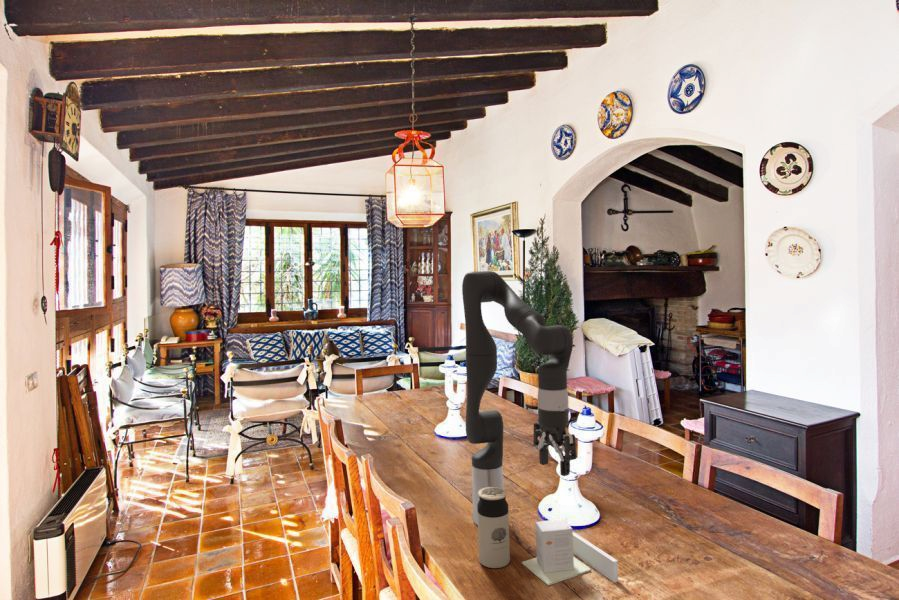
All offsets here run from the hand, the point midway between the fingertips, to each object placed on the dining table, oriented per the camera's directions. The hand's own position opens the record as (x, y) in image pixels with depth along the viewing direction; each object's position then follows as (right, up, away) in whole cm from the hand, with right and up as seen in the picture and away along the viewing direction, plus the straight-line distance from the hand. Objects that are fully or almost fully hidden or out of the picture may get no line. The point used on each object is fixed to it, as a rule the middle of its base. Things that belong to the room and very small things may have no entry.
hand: (554, 469), depth 130 cm
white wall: (+9, -24, +2) cm, 26 cm away
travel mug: (-15, -25, +4) cm, 29 cm away
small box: (0, -24, 0) cm, 24 cm away
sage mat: (0, -25, 0) cm, 25 cm away
